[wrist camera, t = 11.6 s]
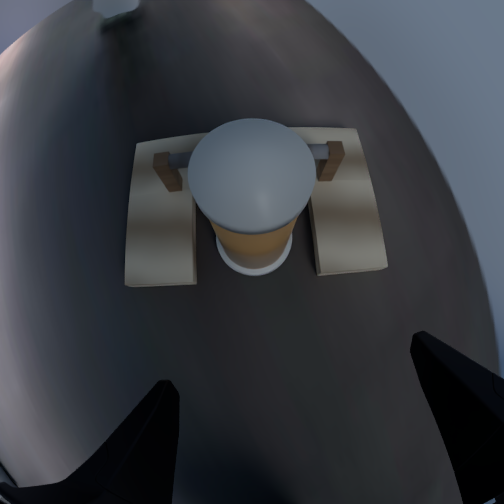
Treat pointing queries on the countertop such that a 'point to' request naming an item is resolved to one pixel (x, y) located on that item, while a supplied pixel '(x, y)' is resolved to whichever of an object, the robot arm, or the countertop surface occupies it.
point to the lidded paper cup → (252, 190)
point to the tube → (5, 479)
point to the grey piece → (184, 209)
